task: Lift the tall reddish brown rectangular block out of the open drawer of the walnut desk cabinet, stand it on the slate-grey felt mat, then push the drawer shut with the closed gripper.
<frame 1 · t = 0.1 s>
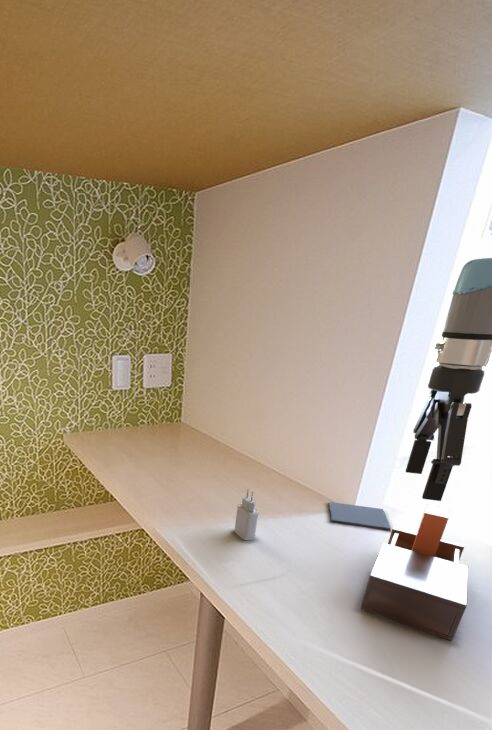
hand: (421, 485, 81), 22 cm above the table, tool pointing down, fingers open, 13 cm apart
felt mat: (357, 516, 117), on the table
cabinet: (408, 603, 83), on the table
reddish brown rectangular block: (418, 566, 92), point 2 cm above the table, touching drawer
drawer: (421, 556, 92), point 4 cm above the table, slide at 10.0 cm, touching reddish brown rectangular block
power adapter: (244, 535, 107), on the table
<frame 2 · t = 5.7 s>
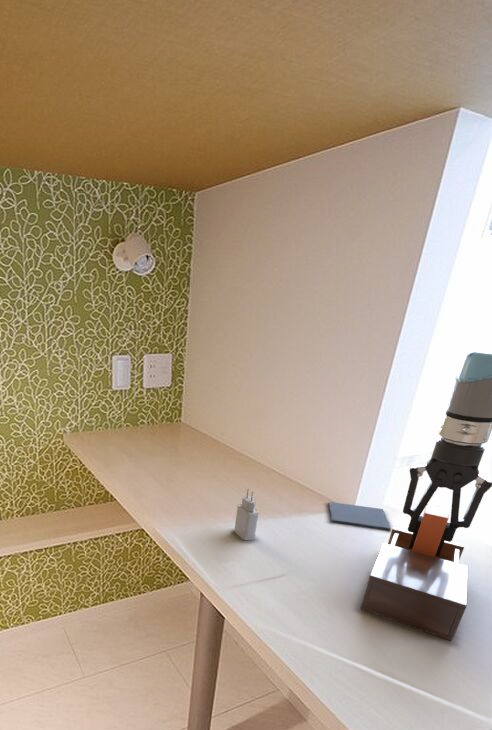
hand: (424, 549, 90), 6 cm above the table, tool pointing down, fingers closed on reddish brown rectangular block, 4 cm apart
reddish brown rectangular block: (418, 566, 92), point 2 cm above the table, touching drawer, gripper
everything else where it was.
when the fingers open (5 cm above the table, at t = 15.4 s): reddish brown rectangular block stays where it is, resting on felt mat.
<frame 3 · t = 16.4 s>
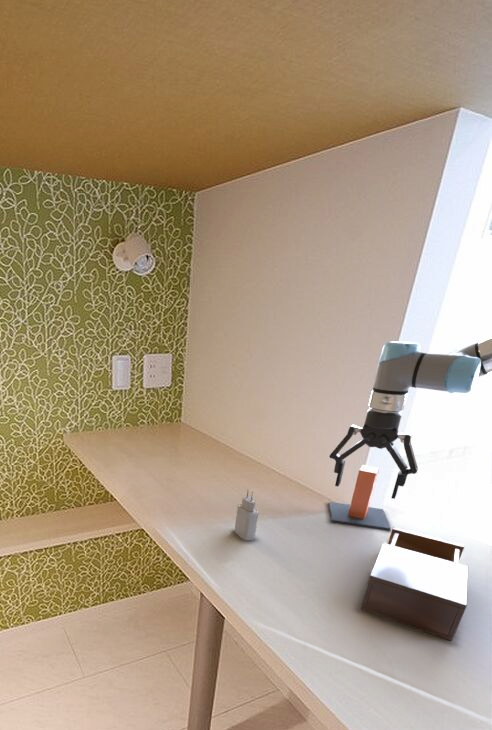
hand: (364, 490, 114), 8 cm above the table, tool pointing down, fingers open, 13 cm apart
reddish brown rectangular block: (357, 514, 117), point 1 cm above the table, touching felt mat
drawer: (421, 556, 92), point 4 cm above the table, slide at 10.0 cm
everything else where it was.
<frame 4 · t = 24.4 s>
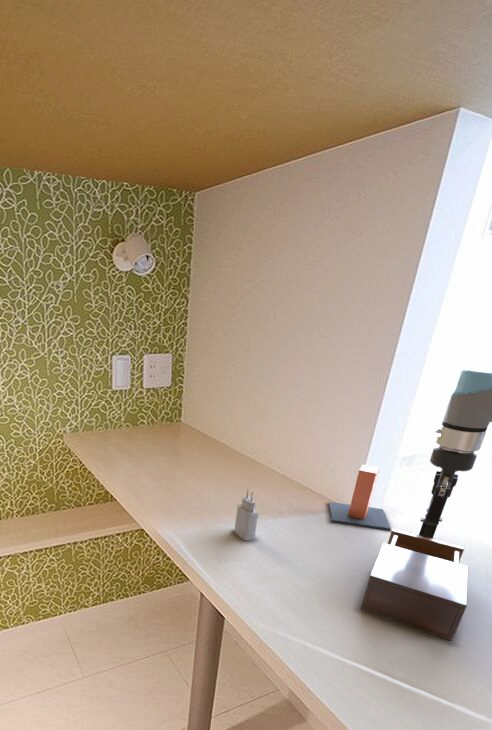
hand: (422, 546, 99), 2 cm above the table, tool pointing down, fingers closed
drawer: (420, 558, 91), point 4 cm above the table, slide at 8.9 cm, touching gripper
everything else where it was.
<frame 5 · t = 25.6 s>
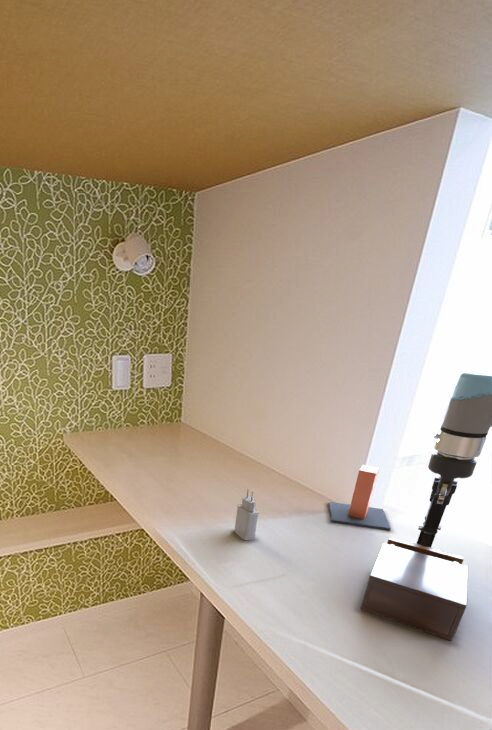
hand: (420, 555, 96), 2 cm above the table, tool pointing down, fingers closed
drawer: (418, 568, 88), point 4 cm above the table, slide at 4.1 cm, touching gripper
everything else where it was.
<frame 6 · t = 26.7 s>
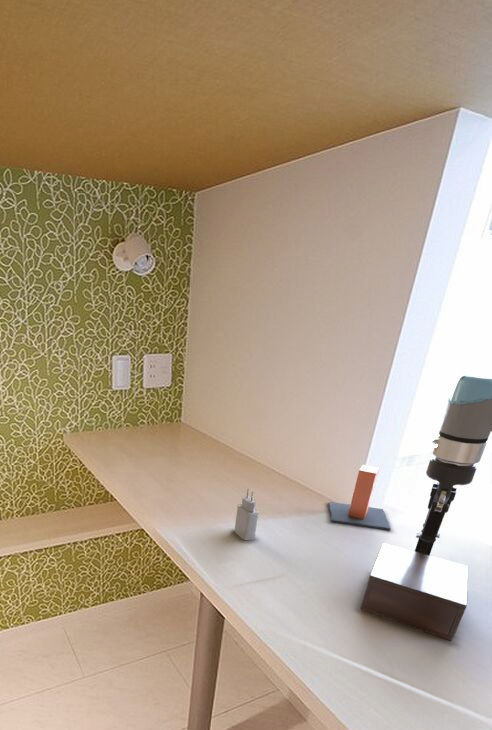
hand: (418, 564, 93), 2 cm above the table, tool pointing down, fingers closed
drawer: (416, 577, 85), point 4 cm above the table, slide at 0.0 cm, touching cabinet, gripper
everything else where it was.
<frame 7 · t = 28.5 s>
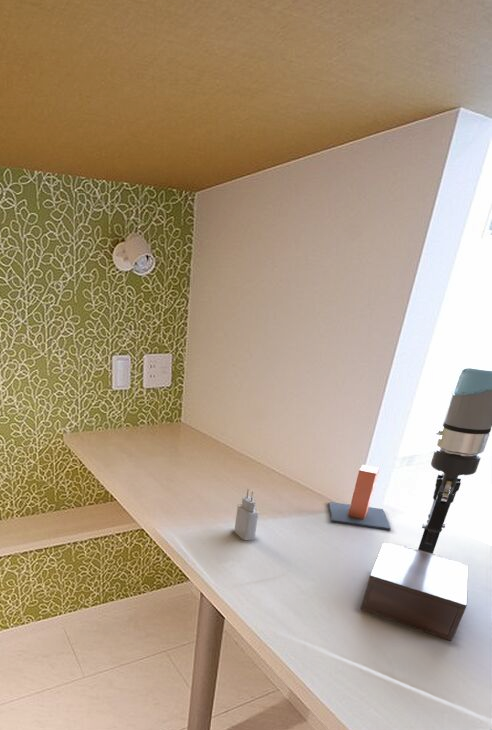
hand: (424, 554, 94), 3 cm above the table, tool pointing down, fingers closed
drawer: (417, 575, 86), point 4 cm above the table, slide at 1.2 cm
everything else where it was.
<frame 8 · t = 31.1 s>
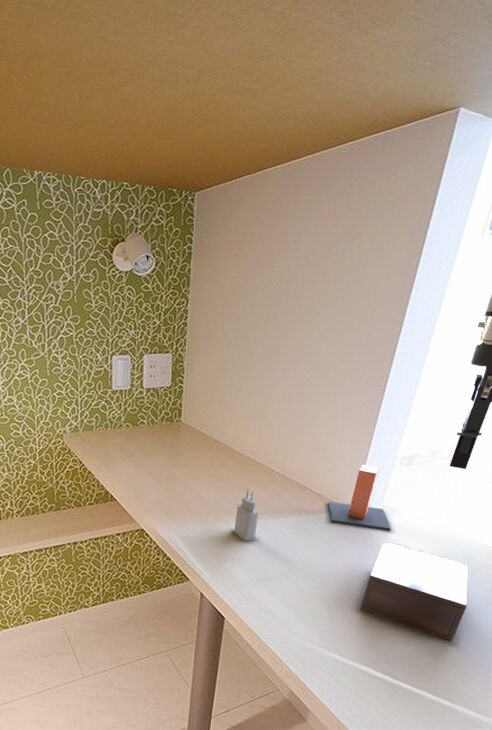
hand: (457, 466, 88), 22 cm above the table, tool pointing down, fingers closed
nothing on the table moved.
at the end: reddish brown rectangular block inside the target area on the felt mat (0.1 cm from its centre), point 0.6 cm above the felt mat's base; reddish brown rectangular block tilted 0°; drawer slide at 1.2 cm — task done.
